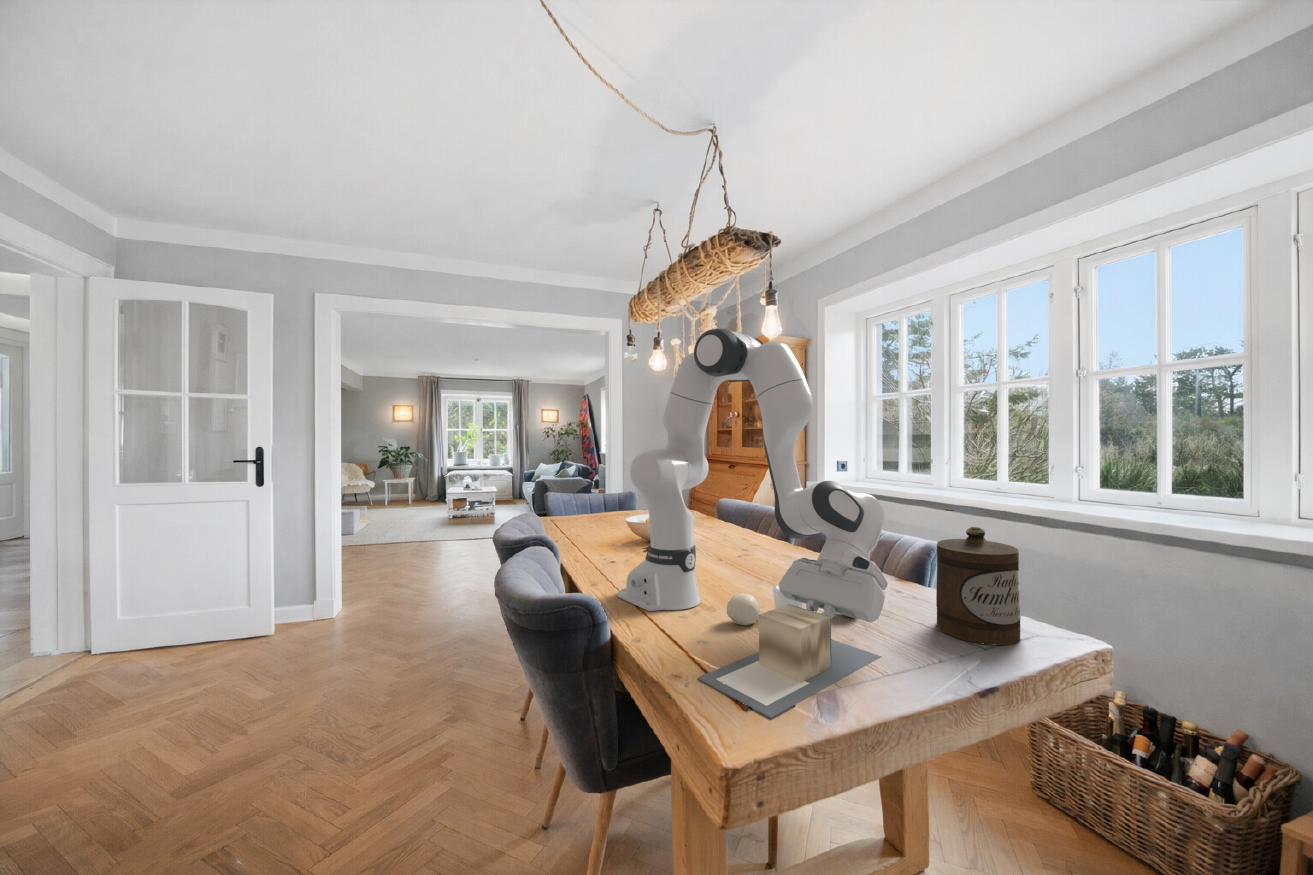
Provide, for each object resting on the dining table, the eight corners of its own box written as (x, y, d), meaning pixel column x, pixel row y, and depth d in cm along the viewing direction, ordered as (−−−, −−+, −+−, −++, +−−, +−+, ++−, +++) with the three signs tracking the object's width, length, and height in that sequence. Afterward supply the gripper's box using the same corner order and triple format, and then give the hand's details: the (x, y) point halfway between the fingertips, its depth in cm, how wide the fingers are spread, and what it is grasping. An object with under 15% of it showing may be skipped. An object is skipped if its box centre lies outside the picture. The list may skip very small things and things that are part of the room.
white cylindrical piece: (805, 624, 111) (805, 592, 111) (773, 622, 112) (773, 591, 112) (803, 613, 117) (802, 583, 117) (772, 612, 119) (772, 582, 119)
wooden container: (980, 650, 96) (979, 536, 96) (921, 623, 110) (919, 523, 110) (1039, 640, 100) (1037, 531, 100) (974, 615, 114) (972, 519, 114)
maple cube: (789, 604, 96) (758, 614, 91) (830, 616, 89) (800, 629, 84) (789, 650, 96) (759, 664, 91) (831, 667, 89) (801, 682, 84)
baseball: (721, 620, 114) (721, 591, 114) (751, 617, 115) (751, 588, 115) (733, 631, 107) (732, 600, 107) (764, 628, 109) (764, 597, 109)
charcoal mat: (808, 632, 106) (808, 631, 106) (881, 658, 93) (881, 656, 93) (697, 679, 86) (697, 677, 86) (771, 719, 74) (771, 717, 74)
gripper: (790, 547, 106) (760, 603, 100) (884, 565, 90) (855, 633, 84) (803, 565, 109) (775, 620, 103) (896, 585, 93) (870, 652, 87)
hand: (812, 626), depth 93 cm, fingers closed
